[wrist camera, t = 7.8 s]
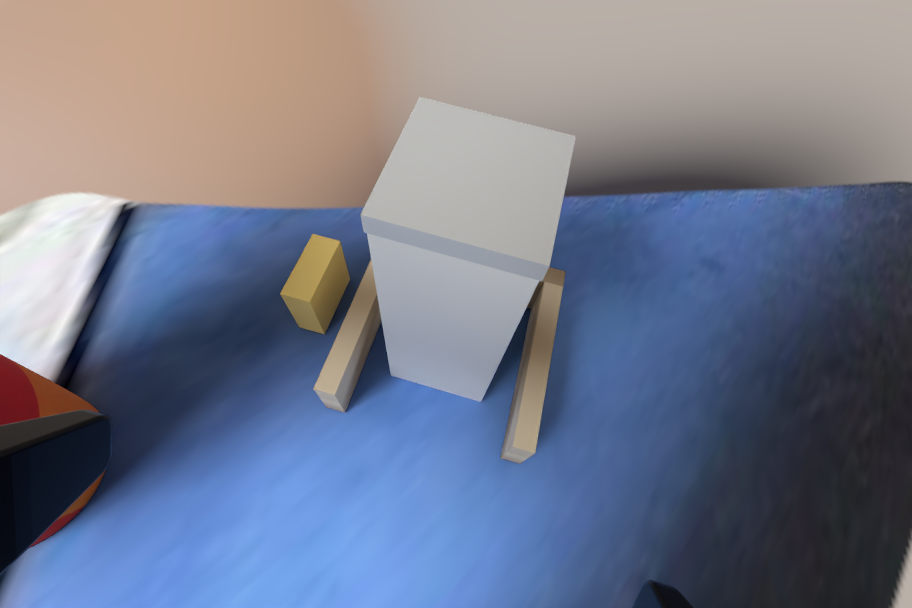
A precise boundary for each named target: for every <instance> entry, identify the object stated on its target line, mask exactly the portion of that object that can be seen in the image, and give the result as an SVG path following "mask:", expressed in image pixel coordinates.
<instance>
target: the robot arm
mask: <svg viewBox="0 0 912 608" xmlns="http://www.w3.org/2000/svg"><path fill="white" fill-rule="evenodd" d="M111 456H112V421H111V419H110V417H108V416H107V415H104V414H101V413H98V412H94V411H91V410H76V411H71V412H66V413H61V414H56V415H51V416H46V417H41V418H36V419H31V420H25V421H20V422H15V423H10V424H5V425H0V574H1V573H2V572H3V571H4V570H5V569H7V568H8V567H9V566H10V565H11V564H12V563H13V562H14V561H15V560H17V559H18V558H19V557H20V556H21V555H22V554H23V553H24V552H25V551H26V550H27V549H28V548H29V547H30V546H31V545H32V544H33V543H34V542H35V541H36V540H37V539H38V538H39V537H40V536H41V535H42V534H43V533H44V532H45V531H46V530H47V529H48V528H49V527H50V526H51V525H52V524H53V523H54V522H55V521H56V520H57V519H58V518H59V517H60V516H61V515H62V514H63V513H64V512H65V511H66V510H67V509H68V508H69V507H70V506H71V505H72V504H73V503H74V502H75V501H76V500H77V499H78V498H79V497H80V496H81V495H82V494H83V493H84V492H85V491H86V490H87V489H88V488H89V487H90V486H91V485H92V484H93V483H94V482H95V481H96V480H97V479H98V478H99V477H100V476H101V475H102V474H103V472H104V471H105V470H106V468H107V467H108V465H109V463H110V460H111ZM632 608H693V607H692V606H691V604H690V603H689V602H688V601H687V600H686V599H685V598H684V596H683V595H682V594H681V593H680V592H679V591H678V590H677V589H676V588H674V587H672V586H670V585H667V584H663V583H660V582H657V581H653V580H648V581H646V582H645V583H644V584H643V586H642V588H641V590H640V592H639V594H638V596H637V598H636V600H635V602H634V604H633V606H632Z"/></svg>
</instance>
